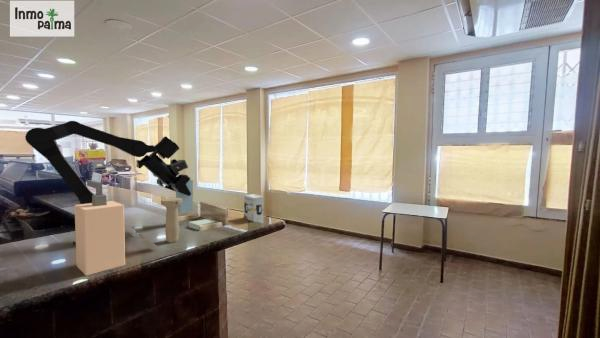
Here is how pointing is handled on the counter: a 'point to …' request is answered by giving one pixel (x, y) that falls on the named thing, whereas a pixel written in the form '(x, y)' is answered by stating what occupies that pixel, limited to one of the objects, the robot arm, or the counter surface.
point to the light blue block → (186, 199)
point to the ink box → (253, 208)
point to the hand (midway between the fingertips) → (187, 194)
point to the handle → (172, 218)
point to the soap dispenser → (99, 233)
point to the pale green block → (200, 223)
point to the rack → (209, 215)
